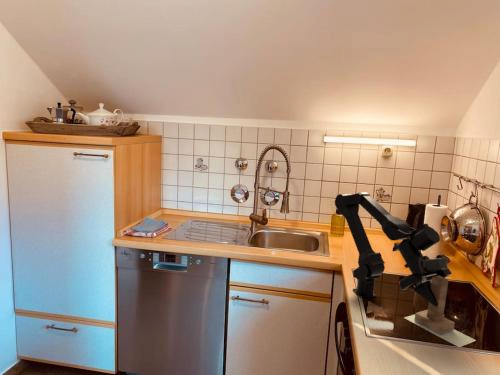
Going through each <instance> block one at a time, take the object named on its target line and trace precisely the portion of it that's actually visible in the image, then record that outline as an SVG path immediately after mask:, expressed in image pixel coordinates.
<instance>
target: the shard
mask: <svg viewBox="0 0 500 375" xmlns="http://www.w3.org/2000/svg"><path fill="white" fill-rule="evenodd" d="M367 302H368V304H367V308H366V313H367V314H370V313H373V314H374V315H375V316H379V317H380V316H381V317H384V318H388V316H387V314H386V313H385V312H384V311H381V310H384V307H382V306H380V305H378V304H376V303H374V302H372V301H370V300H368V301H367Z"/></svg>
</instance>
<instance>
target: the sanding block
mask: <svg viewBox="0 0 500 375" xmlns="http://www.w3.org/2000/svg"><path fill="white" fill-rule="evenodd" d="M448 287H449V279H447V277H446V278H443V277H440V276H436V277H432V282H431V290H432V292H433V294H434V296H435V298H436V300H437V302H438V306H436V307H435V306H434V305H433V304H431V303H430V302H429V301H428V304H427V305H428V306H427V309H424V310H421V311H418V312H415V314H414V315H415V320H414V321H416V322H418V323H420V324H422V325H424V326H426V327H428V328H430V329H431V330H433V331H435V332H437V333H439V334H441V335H442V334H445V333H447V332H450V331H453V330H455V324H456V323H455V322H454V321H453V320H451V319H449V318H447V317H444V314H445V313H444V312H445V308H446V303H445V302H447V293H448Z"/></svg>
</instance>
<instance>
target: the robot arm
mask: <svg viewBox="0 0 500 375" xmlns="http://www.w3.org/2000/svg"><path fill="white" fill-rule="evenodd" d="M334 205H335V207H336V209H337V211H338V213H339V214H340V215H341V216H343V217H344V218H345V221H346V223H347V226H348V228H349V231H350V234H351V236H352V238H353V239H352V240H353V241H354V244H355V247H356V250H357V251H358V259H357V264H358V267H356V268H355V269H354V270H352V275H353V278H355V279H357V282H356V288H352V291H353V292H355V294H356V293H357V294H358V295H357V294H356V295H357V296H359V298H377V296H378V295H377V294H376V293H375V292H374V291H375V279H379V278H380V277H381V276H382V275H383V273H384V271H385V264H386V262H385V261H384V259H383V258H382V253H381V252H376V251H375V250H373V248H372V246H371V243H370V240H369V237H368V235H367V233H366V230H365V227H364V225H363V223H362V220H361V218H360V215H359V211H360V207H362V208H363V209H364V210H365V211H366V212H368V214H369V215H370V216H371V217H373V219H374V220H375V221H376V222H378V224H379V225H380V226H381V230H382V232H383V233H384V235H385V236H386V238H388V240H390V241H393V242H394V241H400V242H395V243H393V247H392V252H399V253H400V255H401V257H402V259H403V260H404V262H405V264H404V265H403V267H404V268H405V269H409V271H410V272H411V274H408V275H406V276H405V277H403V278H402V279H400V280H399V281H398V282H399V283H398V285H399V287H400V290H401V291H405V290H408V289H409V288H410V286H412V285H413V287H412V288H411V291H414V292H415V293H417V294H418V295H420V296H421V297H422V298H424V299H425V300H426V301H427V302H428V303H429V302H430V303H431V304H433V305H434V306H435V307H436V306H438V302H437V300H436V298H435V296H434V294H433V292H432V290H431V282H432V277H436V276H440V277H443V278H446V279H447V277H449V276H452V272H451V269H450V268H449V267H448V264H449V263H450V261H449V259H448V257H447V256H446V255H445V254H442V253H441V254H437V255H436V256H435V258H431V259H430V256H428V255H423V253H422V252H424V251H426V250H428V249H429V248H431V247H433V246H434V245H437V244H438V243H439V242H440V241H441V236H440V234H439V232H438V231H436V230H435V229H434V228H433V227H431V226H430V225H429V224H428V223H422V224H421V225H419V227H417V228H416V229H415V228H414V227H412V226H410V224H409V223H407V222H406V221H404V220H402V219H401V218H399V217H396V216H395V215H392V214H391V213H390V212H389V211H388V210H386V209H385V207H383V205H381V204H380V203H379V202H378V201H376V200H375V199H374V197H372V195H371V194H370V193H368V192H365V191H364V192H358V193H340V194H338V195H336V197H335V199H334ZM427 277H428V278H427ZM446 302H447V301H445V304H446Z"/></svg>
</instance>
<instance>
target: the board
mask: <svg viewBox="0 0 500 375" xmlns="http://www.w3.org/2000/svg"><path fill="white" fill-rule="evenodd" d="M404 319H406V320H407V321H409V322H411V323H413V324H415V325H417V326H418V327H420V328H422V329H424V330H425V331H427V332H429V333H431V334H433V335H435V336H437V337H438V338H440V339H442V340H445V341H447V342H448V343H450V344H452V345H454V346H456V347H458V348H461V347H464V346H466V345H469V344H471V343H473V342H476V341H477V340H476V339H474V338H472V337H471V336H468V335H466V334H464V333H462V332H461V331H458V330H456V329H454V330H453V331H450V332H447V333H445V334H442V335H441V334H439V333H437V332H435V331H433V330H431V329H430V328H428V327H426V326H424V325H422V324H420V323H418V322H416V321H414V320H415V314H411V315H409V316H404Z"/></svg>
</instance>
